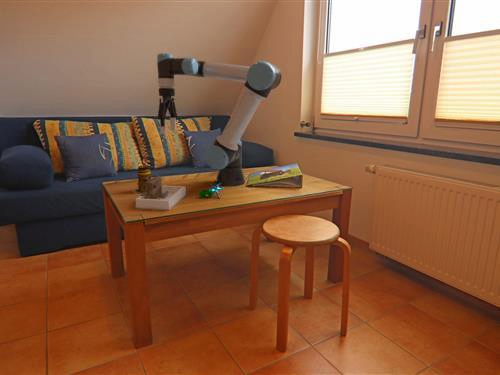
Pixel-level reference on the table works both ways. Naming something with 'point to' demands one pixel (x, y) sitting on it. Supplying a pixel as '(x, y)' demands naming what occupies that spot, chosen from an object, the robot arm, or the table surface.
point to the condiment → (143, 178)
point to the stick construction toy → (211, 191)
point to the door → (154, 188)
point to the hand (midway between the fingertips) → (168, 132)
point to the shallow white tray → (162, 199)
